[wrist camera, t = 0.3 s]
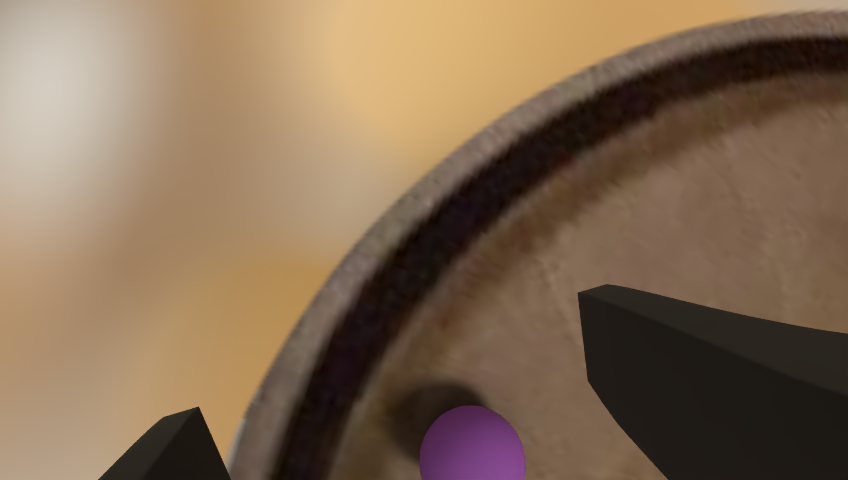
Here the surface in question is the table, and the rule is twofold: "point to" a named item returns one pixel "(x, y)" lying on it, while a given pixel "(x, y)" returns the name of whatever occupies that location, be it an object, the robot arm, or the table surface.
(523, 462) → the ball
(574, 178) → the table surface
